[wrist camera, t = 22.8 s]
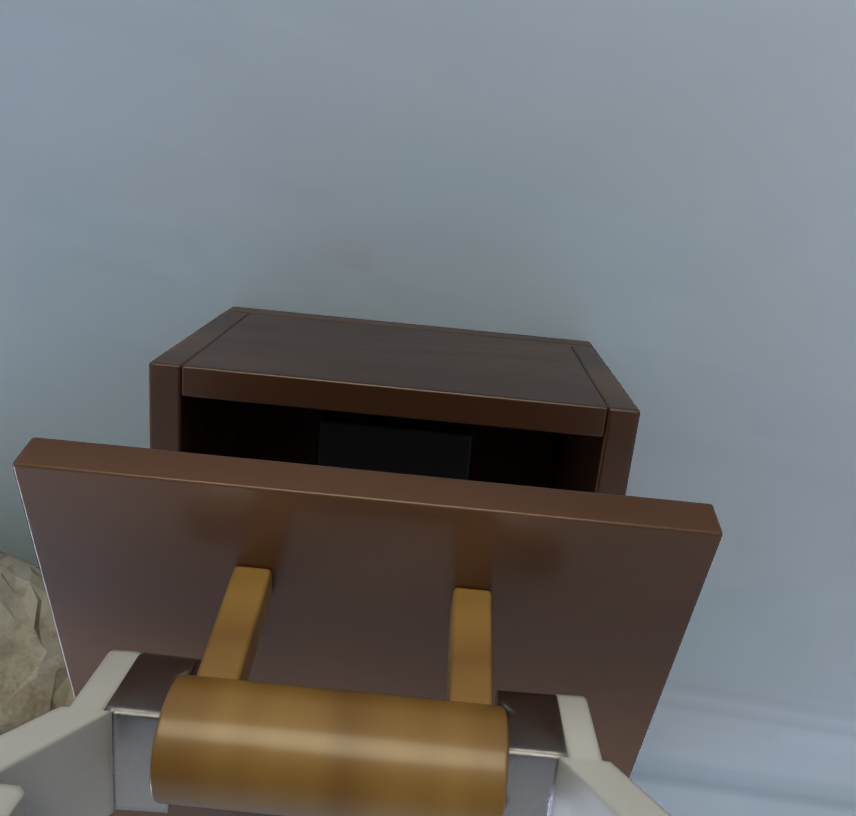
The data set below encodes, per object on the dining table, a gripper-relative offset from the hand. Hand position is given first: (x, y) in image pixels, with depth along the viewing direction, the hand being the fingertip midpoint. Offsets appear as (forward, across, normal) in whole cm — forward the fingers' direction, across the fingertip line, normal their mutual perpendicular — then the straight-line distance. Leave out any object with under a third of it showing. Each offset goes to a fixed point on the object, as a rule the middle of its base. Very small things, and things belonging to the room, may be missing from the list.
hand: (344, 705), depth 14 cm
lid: (+5, 0, +6) cm, 7 cm away
